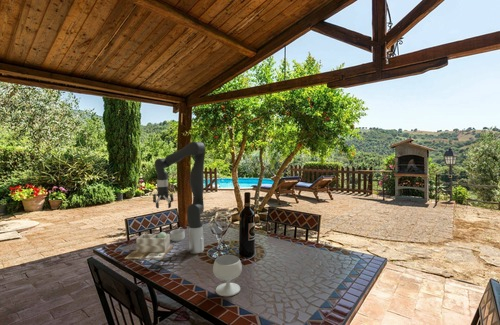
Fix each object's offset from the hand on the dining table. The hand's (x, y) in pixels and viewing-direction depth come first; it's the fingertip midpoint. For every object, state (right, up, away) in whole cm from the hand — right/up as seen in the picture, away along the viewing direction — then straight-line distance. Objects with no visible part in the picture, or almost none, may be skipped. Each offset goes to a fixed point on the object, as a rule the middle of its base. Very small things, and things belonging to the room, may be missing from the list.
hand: (163, 208), depth 181 cm
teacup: (+7, -28, +13) cm, 31 cm away
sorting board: (-4, -29, -13) cm, 32 cm away
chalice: (+52, -29, -60) cm, 85 cm away
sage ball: (0, -20, -10) cm, 22 cm away
